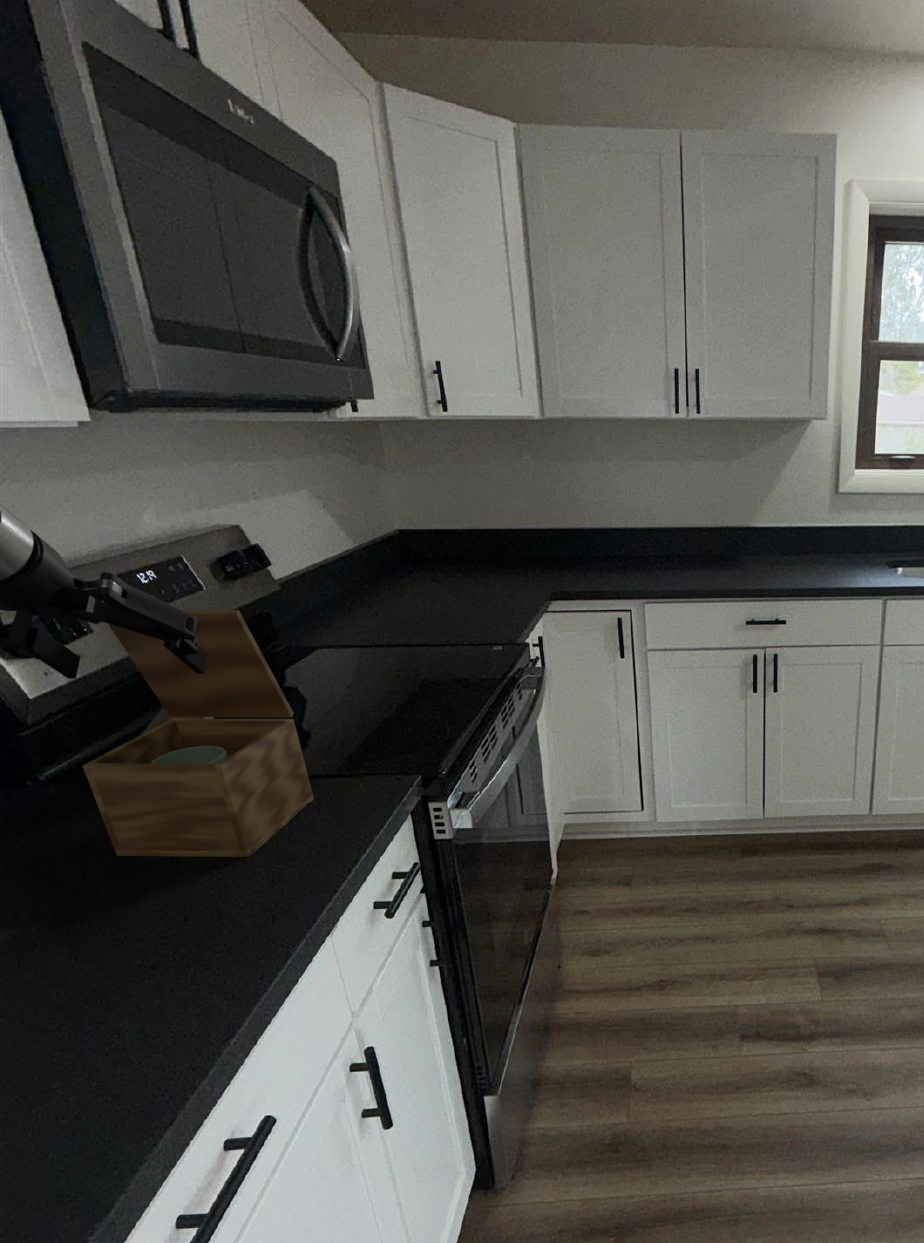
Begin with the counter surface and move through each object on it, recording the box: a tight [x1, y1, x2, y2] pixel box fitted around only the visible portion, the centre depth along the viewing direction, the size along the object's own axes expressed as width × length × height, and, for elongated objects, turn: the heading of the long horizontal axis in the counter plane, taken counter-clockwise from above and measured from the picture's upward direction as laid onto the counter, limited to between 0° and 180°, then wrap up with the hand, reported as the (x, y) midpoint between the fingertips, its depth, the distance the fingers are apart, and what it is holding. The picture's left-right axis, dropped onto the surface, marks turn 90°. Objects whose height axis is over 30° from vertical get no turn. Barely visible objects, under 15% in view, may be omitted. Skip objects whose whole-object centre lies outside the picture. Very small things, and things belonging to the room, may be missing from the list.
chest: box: [82, 718, 315, 858], centre depth 104 cm, size 16×17×12 cm
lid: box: [107, 609, 295, 719], centre depth 102 cm, size 16×17×1 cm
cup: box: [150, 746, 228, 764], centre depth 102 cm, size 8×8×10 cm
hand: (139, 665), depth 92 cm, fingers open, 13 cm apart
